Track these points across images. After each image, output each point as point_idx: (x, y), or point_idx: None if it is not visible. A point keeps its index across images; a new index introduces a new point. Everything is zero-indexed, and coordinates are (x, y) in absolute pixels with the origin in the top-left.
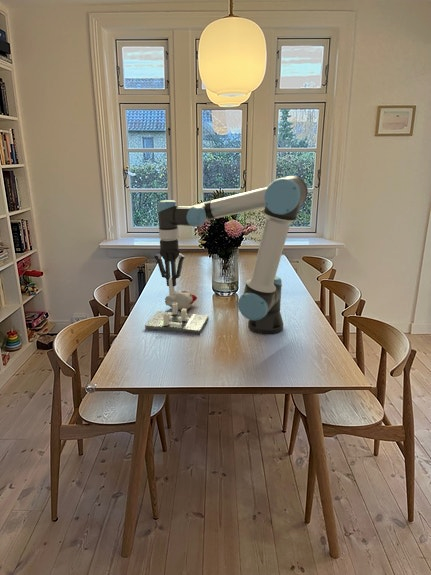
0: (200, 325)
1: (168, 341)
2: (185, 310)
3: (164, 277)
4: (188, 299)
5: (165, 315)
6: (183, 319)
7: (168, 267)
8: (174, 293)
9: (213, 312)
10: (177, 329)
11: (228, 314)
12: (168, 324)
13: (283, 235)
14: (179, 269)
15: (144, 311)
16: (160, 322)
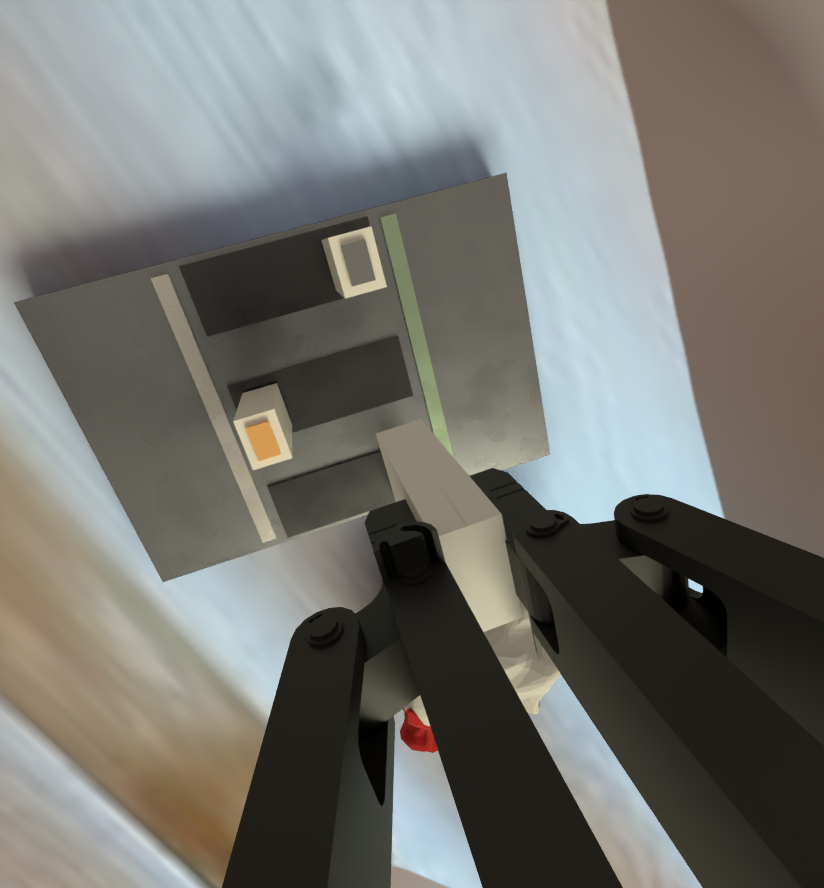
0: (84, 395)
1: (184, 45)
2: (236, 429)
3: (610, 523)
4: None
5: (347, 233)
6: (259, 391)
7: (677, 767)
8: (531, 657)
9: (219, 669)
10: (225, 247)
11: (101, 699)
12: (327, 260)
13: None
14: (245, 867)
15: (648, 448)
16: (423, 286)
